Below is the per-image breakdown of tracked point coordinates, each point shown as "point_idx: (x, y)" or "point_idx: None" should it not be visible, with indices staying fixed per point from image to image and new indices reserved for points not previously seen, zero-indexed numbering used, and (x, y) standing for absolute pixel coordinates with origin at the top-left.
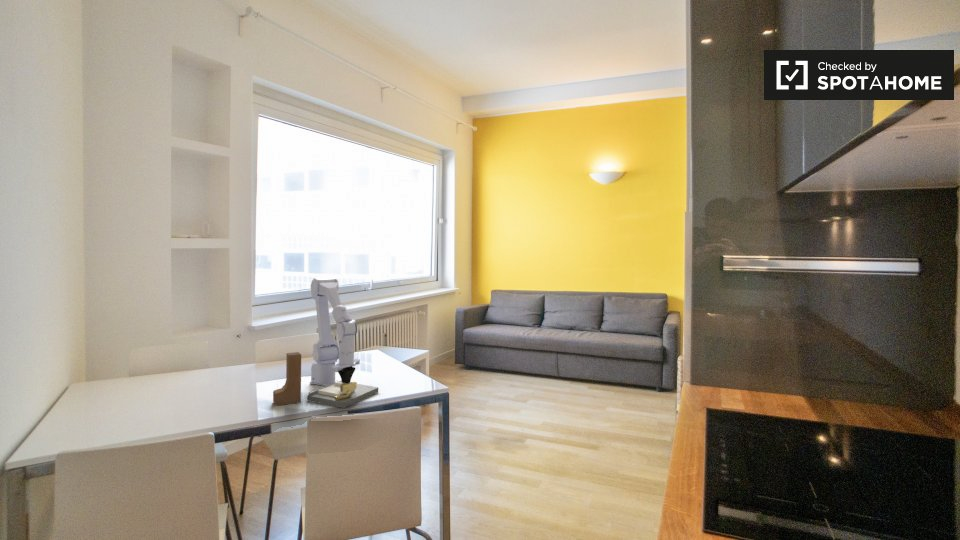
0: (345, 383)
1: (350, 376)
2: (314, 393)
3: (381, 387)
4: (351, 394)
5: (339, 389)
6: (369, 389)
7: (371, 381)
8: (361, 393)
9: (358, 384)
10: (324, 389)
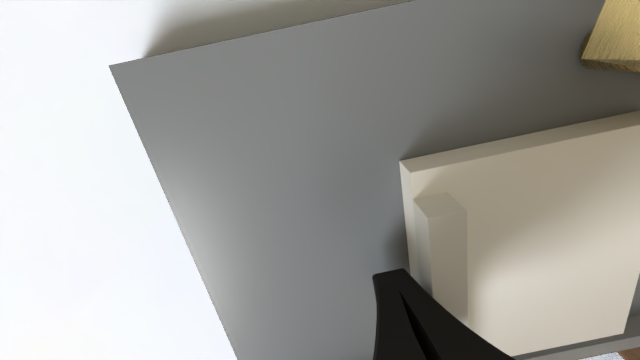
0: (444, 294)
1: (414, 351)
2: None
3: (17, 165)
4: (504, 98)
5: (531, 242)
6: (248, 86)
7: (17, 341)
8: (419, 37)
9: (222, 291)
10: (582, 322)
